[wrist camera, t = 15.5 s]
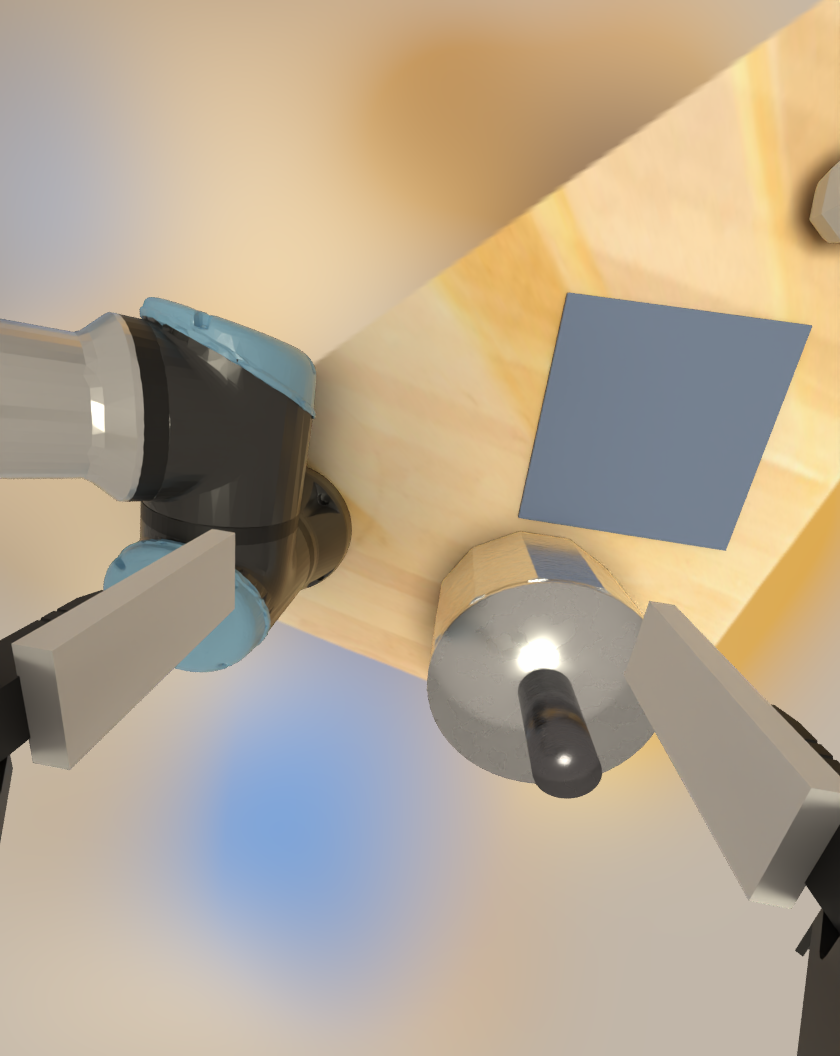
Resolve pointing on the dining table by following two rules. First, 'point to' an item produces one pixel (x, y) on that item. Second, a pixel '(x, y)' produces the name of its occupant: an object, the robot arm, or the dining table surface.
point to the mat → (657, 418)
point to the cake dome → (536, 664)
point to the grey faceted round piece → (827, 206)
